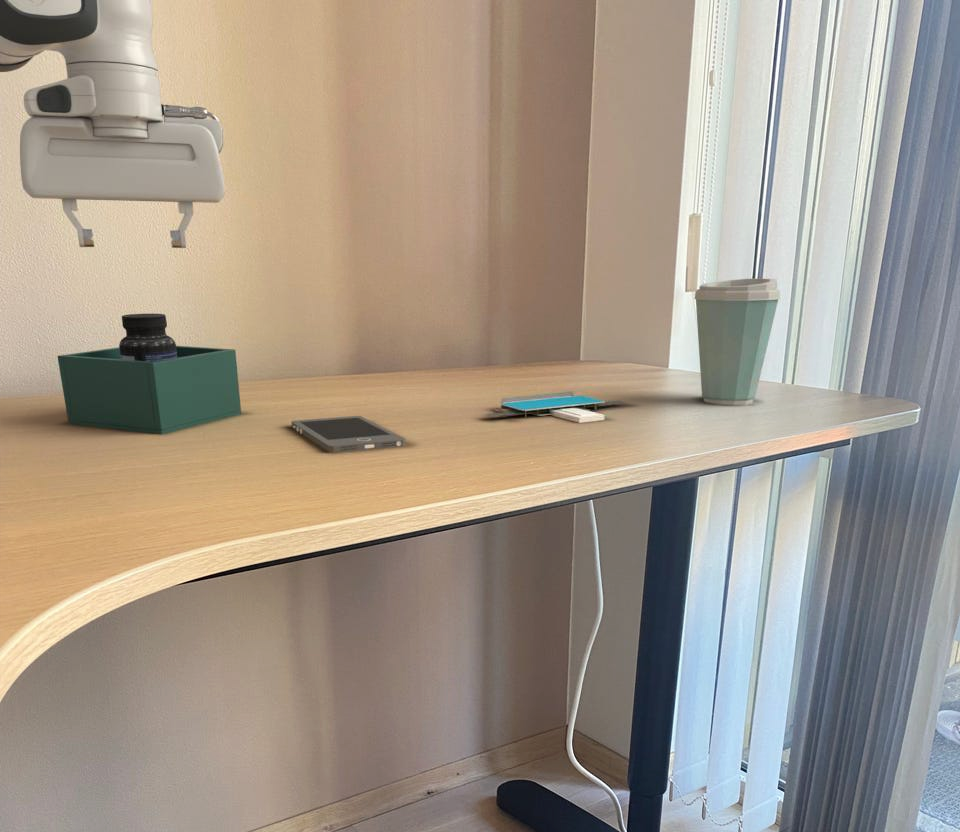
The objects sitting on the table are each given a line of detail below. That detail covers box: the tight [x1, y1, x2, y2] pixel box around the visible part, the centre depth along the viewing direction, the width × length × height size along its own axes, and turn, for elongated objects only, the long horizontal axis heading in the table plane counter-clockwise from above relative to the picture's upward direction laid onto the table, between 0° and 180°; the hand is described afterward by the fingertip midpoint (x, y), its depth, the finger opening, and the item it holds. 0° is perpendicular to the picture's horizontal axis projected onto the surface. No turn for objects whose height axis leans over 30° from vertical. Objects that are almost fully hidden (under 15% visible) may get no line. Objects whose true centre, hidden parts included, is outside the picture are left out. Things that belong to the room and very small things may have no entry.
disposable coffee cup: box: [693, 278, 781, 406], centre depth 121 cm, size 11×11×15 cm
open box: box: [57, 345, 242, 435], centre depth 109 cm, size 14×14×8 cm
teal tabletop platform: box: [484, 390, 625, 424], centre depth 115 cm, size 20×12×2 cm, turn 121°
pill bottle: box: [118, 313, 177, 362], centre depth 109 cm, size 6×6×11 cm
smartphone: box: [291, 415, 406, 454], centre depth 102 cm, size 15×8×1 cm, turn 25°
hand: (133, 247), depth 103 cm, fingers open, 8 cm apart
